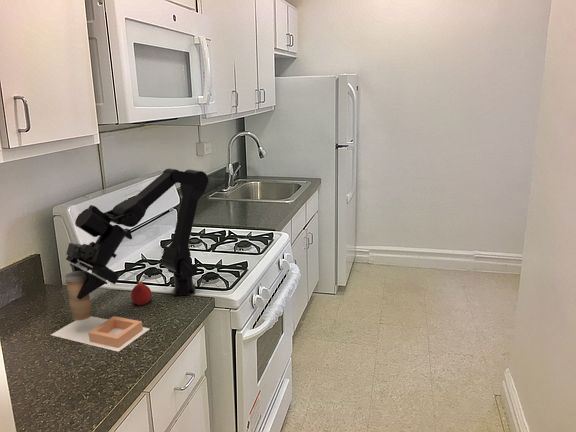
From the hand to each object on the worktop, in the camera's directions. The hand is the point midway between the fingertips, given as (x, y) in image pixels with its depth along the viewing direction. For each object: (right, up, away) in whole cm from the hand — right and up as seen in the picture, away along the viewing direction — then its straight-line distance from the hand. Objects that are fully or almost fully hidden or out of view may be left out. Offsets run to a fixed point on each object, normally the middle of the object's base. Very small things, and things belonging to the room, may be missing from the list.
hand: (73, 296), depth 129 cm
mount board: (+6, -11, +2) cm, 13 cm away
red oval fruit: (+13, -6, +18) cm, 23 cm away
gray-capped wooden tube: (+1, -6, +3) cm, 7 cm away
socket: (+12, -10, -1) cm, 16 cm away
